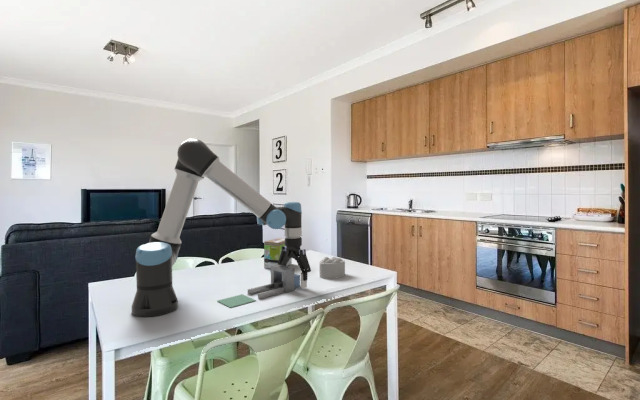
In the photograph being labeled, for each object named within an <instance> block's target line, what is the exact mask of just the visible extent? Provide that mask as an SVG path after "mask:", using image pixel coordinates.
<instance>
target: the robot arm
mask: <svg viewBox="0 0 640 400" xmlns="http://www.w3.org/2000/svg"><path fill="white" fill-rule="evenodd" d="M174 171H175V174H176V175H175V179H174V182H173V184H172V187H171V191H170V193H169V196H168V200H167V201H166V204H165V208H164V211H163V213H162V216H161V219H160V222H159V225H158V226H157V227H158V228H157V231H155V232H154V233H152V234H151V235H150V237H149V241H148V242H147V243H145V244H144V243H143V244H141V245H139V246H138V247H137V248H136V249H135V250H136V251H135V256H134V257H135V272H136V273H135V275H136V278H135V279H136V280H135V281H136V291H135V294H134V298H133V301H132V304H131V314H132V315H133V316H135V317H144V318H145V317H147V318H148V317H156V316H161V315H165V314H168V313H170V312H173V311H176V310H177V309H178V307H179V300H178V296H177V295H176V292H175V289H174V286H173V266H174V265H175V263H176V262H177V260H178V256H179V251H180V249H181V245H182V240H181V238H180V237H181V233H182V230H183V228H184V225H185V222H186V220H187V217H188V213H189V210H190V207H191V204H192V202H193V199H194V196H195V192H196V190H197V187H198V183H199V182H200V181H202V180H204V179H205V178H207V179H208V180H210V181H211V182H213V184H215V185H216V186H217V187H219V188H220V189H221V190H222V191H224V192H225V193H226V194H228V195H229V196H230V197H231V198H233V199H234V200H236V202H238V203H239V204H241V206H243V207H244V208H246V209H247V210H248V211H249V212H251V214H253V215H255V216H256V222H257V225H259V226H266V225H267V226H268V227H269V228H271V229H273V230H279V229H282V228H283V227H284V238H285V246H282V251H281V254H280V257H279V261H278V264H280V265H284V266H286V265H287V263H288V261H289V260H290V258H292V259H294V260H295V261H296V263H297V264H298V266H299V269H300V271H301V272H300V289H306V288H307V287H308V282H307V281H308V273H310V272H311V271H312V269H311V265H310V262H309V260H308V256H307V252H306V251H307V250H306V249H304V248H303V249H301V246H302V245H303V244H302V243H303V238H302V236H303V235H302V233H303V231H302V214H303V212H302V204H301V203H300V202H299V201H286V202H284V204H283V206H278V207H277V206H275V205H274V204H273V203H271V202H270V201H269V200H268V199H267V198H265V197H264V196H263V195H262V194H261V193H259V192H258V191H256V190H255V189H254V188H253V187H252V186H250V185H249V183H247V182H246V181H244V180H243V179H242V178H241V177H239V176H238V175H237V174H236V173H235V172H233V171H232V170H231V169H230V168H228V166H226V165H225V164H224V163H223V162H221V160H220V157H219V156H217V154H216V153H214V152H213V151H212V150H211V149H210V148H209V146H208V145H207V144H206V143H205V142H203V141H202V140H200V139H198V138H197V139H196V138H188V139H186V140H184V141H183V142H181V144H180V145H178V149H177V160H176V163H175V166H174ZM287 266H288V265H287ZM282 281H283V273H282Z"/></svg>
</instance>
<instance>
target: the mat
mask: <svg viewBox="0 0 640 400" xmlns="http://www.w3.org/2000/svg"><path fill="white" fill-rule="evenodd" d="M254 302H257V300H256V299H254V298H252V297H250V296H247V295H245V294H238V295H234V296H229V297H226V298H222V299H218V300H217V303H220V304H222V305H224V306H226V307H228V308H230V309H232V308H236V307H238V306H239V307H240V306H243V305H246V304H250V303H254Z"/></svg>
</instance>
